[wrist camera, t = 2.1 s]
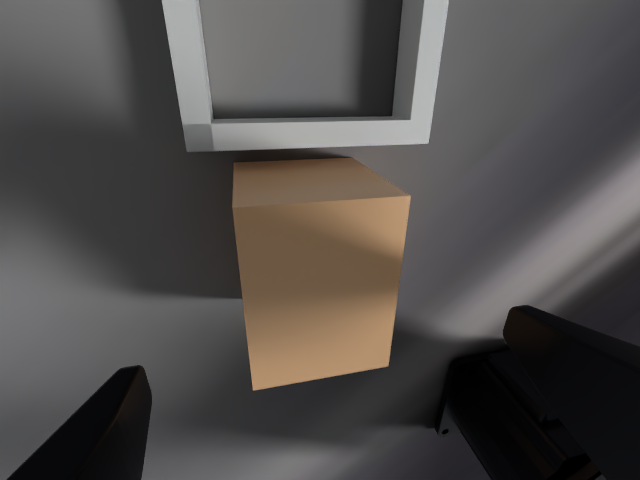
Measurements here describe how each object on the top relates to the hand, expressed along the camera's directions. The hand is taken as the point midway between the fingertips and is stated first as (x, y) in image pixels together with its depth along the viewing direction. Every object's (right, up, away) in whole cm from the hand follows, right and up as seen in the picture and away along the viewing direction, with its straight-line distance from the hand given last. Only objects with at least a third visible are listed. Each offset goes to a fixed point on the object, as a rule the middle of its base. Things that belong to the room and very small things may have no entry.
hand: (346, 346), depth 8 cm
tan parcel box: (-2, +3, +6) cm, 7 cm away
